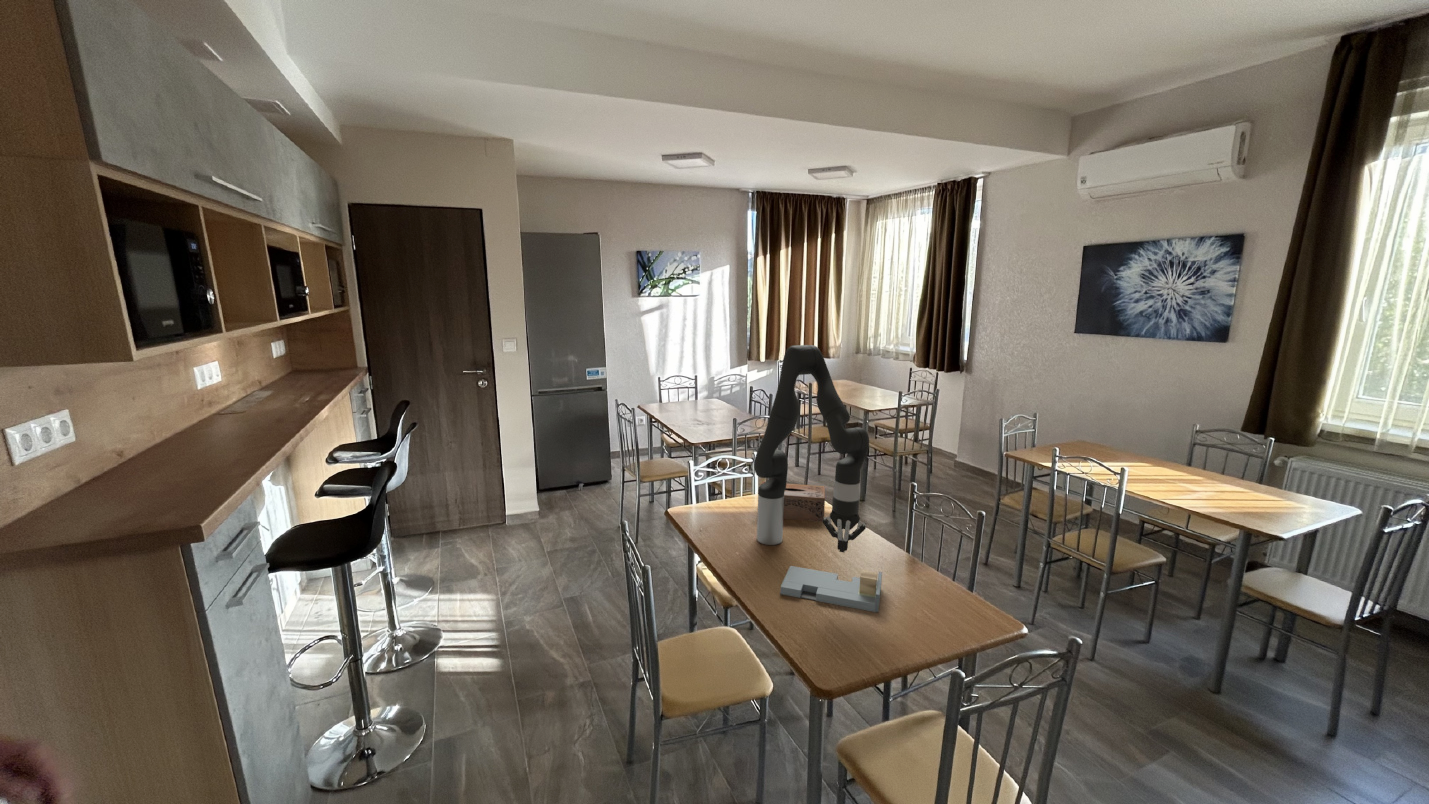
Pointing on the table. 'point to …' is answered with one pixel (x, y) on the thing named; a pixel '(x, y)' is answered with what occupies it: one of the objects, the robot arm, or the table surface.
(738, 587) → the table surface
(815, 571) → the plate
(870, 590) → the beech block
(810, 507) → the tissue box cover
